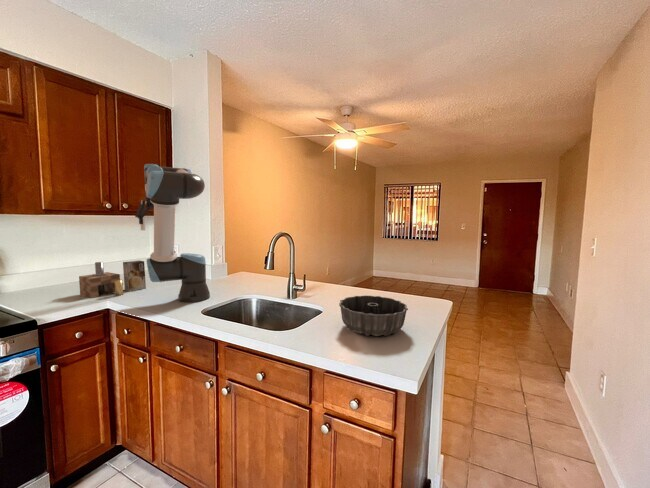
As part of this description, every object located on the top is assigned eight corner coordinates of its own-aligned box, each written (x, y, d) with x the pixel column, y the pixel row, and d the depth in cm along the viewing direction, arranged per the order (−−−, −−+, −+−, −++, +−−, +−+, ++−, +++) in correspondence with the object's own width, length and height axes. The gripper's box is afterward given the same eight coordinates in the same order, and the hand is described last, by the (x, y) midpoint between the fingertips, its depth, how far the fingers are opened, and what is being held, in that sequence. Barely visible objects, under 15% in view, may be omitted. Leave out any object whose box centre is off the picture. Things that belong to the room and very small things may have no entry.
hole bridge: (120, 292, 172) (119, 274, 171) (92, 297, 160) (90, 278, 159) (108, 289, 178) (107, 272, 177) (80, 294, 165) (78, 276, 164)
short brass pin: (124, 294, 167) (123, 280, 166) (117, 296, 163) (116, 281, 163) (120, 293, 168) (120, 279, 167) (113, 295, 165) (112, 280, 164)
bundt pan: (396, 317, 136) (397, 294, 135) (416, 342, 110) (417, 314, 109) (336, 317, 135) (336, 294, 134) (341, 342, 109) (342, 314, 108)
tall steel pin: (106, 293, 170) (104, 262, 168) (99, 294, 166) (97, 263, 165) (102, 292, 171) (100, 261, 170) (95, 293, 168) (93, 262, 166)
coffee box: (141, 286, 185) (140, 260, 183) (146, 288, 181) (144, 261, 179) (124, 289, 177) (122, 261, 176) (128, 291, 174) (127, 263, 172)
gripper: (168, 194, 189) (169, 228, 191) (126, 190, 166) (128, 230, 168) (176, 193, 185) (177, 229, 187) (135, 190, 163) (137, 230, 165)
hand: (154, 229), depth 178 cm, fingers open, 13 cm apart
